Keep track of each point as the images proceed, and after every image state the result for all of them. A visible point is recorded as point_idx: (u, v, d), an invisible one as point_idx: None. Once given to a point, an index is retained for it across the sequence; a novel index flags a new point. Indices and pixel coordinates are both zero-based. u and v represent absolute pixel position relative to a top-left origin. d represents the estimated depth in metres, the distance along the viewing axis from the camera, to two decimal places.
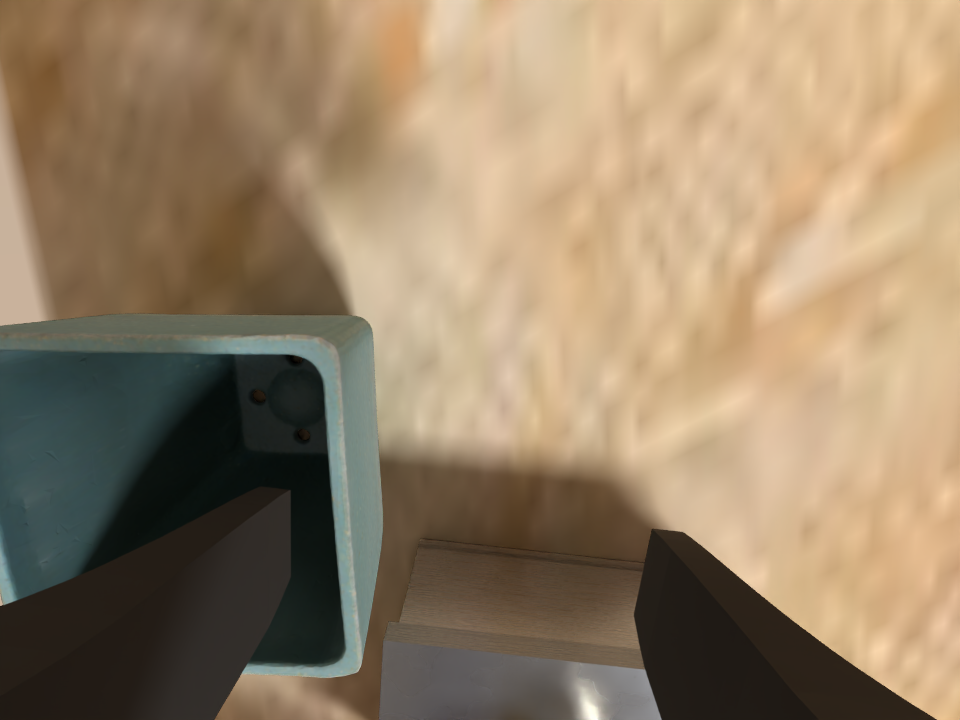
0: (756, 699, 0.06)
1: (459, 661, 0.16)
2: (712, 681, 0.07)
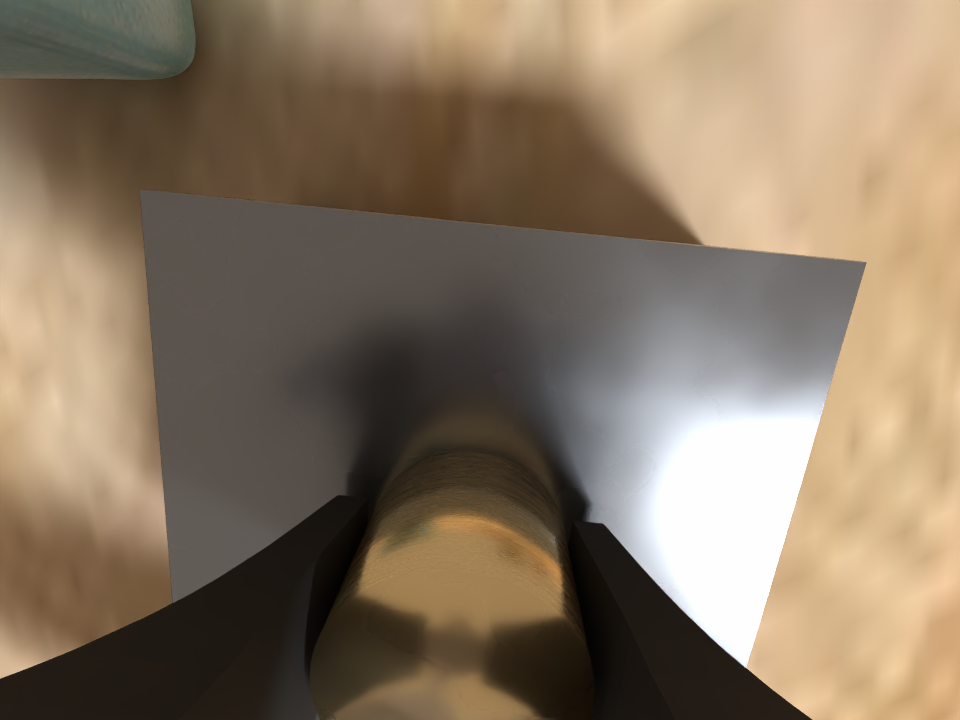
0: (630, 685, 0.06)
1: (279, 232, 0.09)
2: (604, 668, 0.07)
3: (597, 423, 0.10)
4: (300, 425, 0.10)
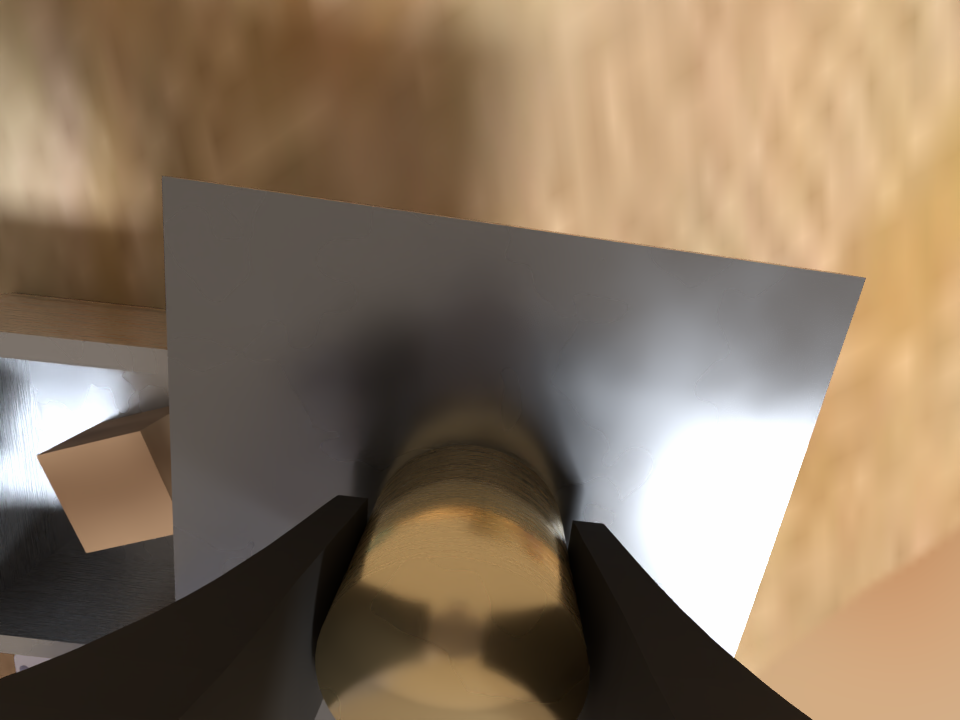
0: (630, 685, 0.06)
1: (297, 223, 0.09)
2: (604, 668, 0.07)
3: (599, 423, 0.10)
4: (309, 413, 0.10)
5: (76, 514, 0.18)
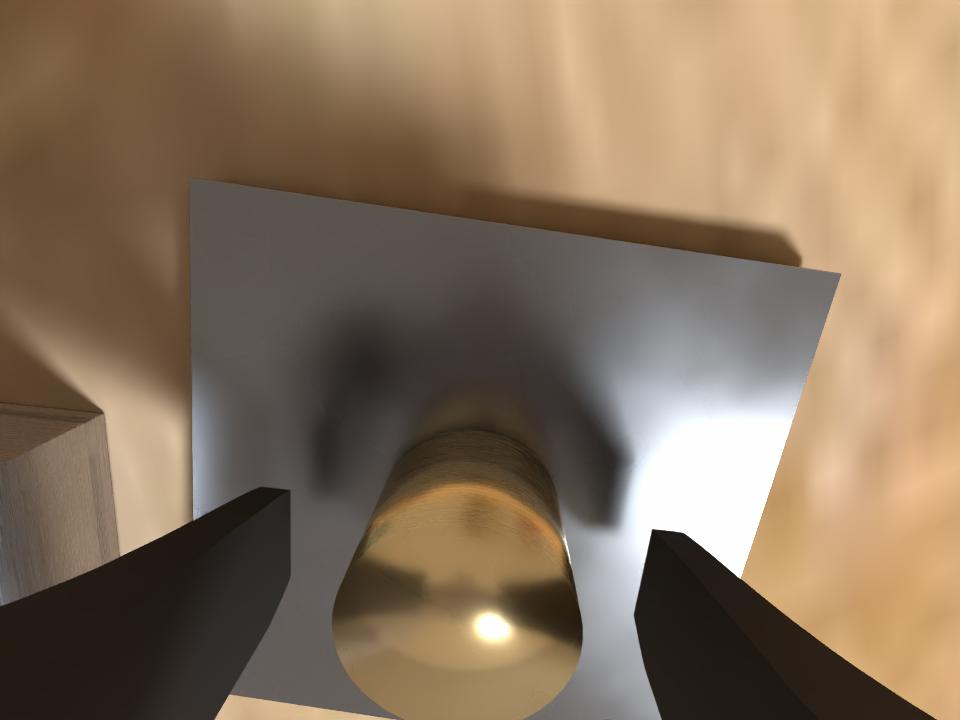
0: (756, 699, 0.06)
1: (314, 222, 0.10)
2: (712, 680, 0.07)
3: (594, 409, 0.11)
4: (323, 399, 0.11)
5: None
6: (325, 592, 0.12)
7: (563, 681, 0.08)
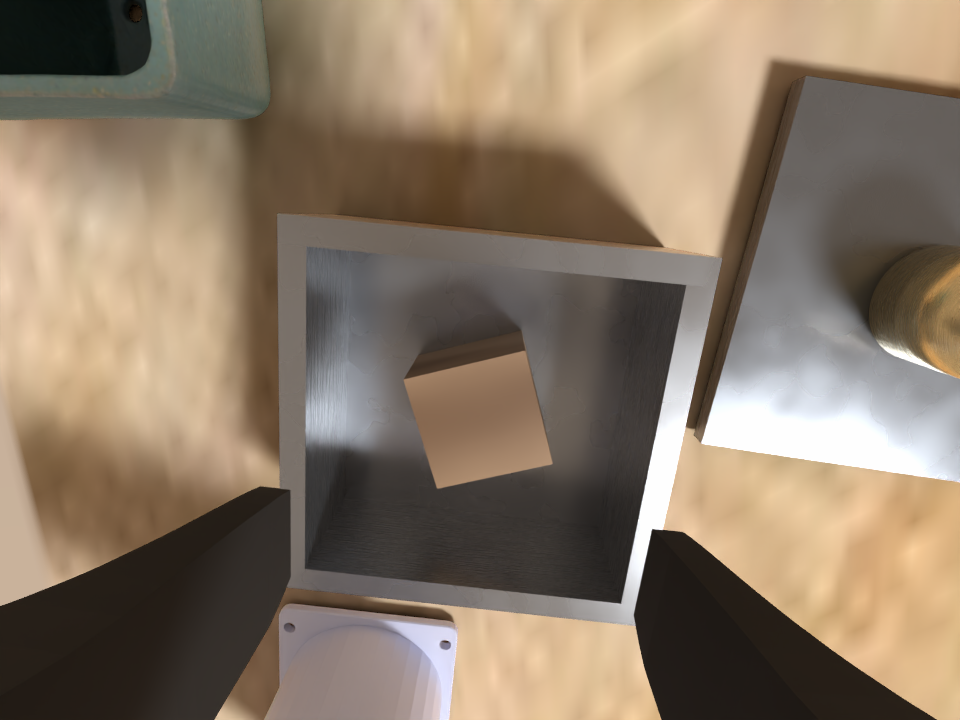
0: (756, 699, 0.06)
1: (878, 104, 0.16)
2: (711, 681, 0.07)
3: None
4: (851, 224, 0.17)
5: (435, 445, 0.17)
6: (815, 365, 0.18)
7: None
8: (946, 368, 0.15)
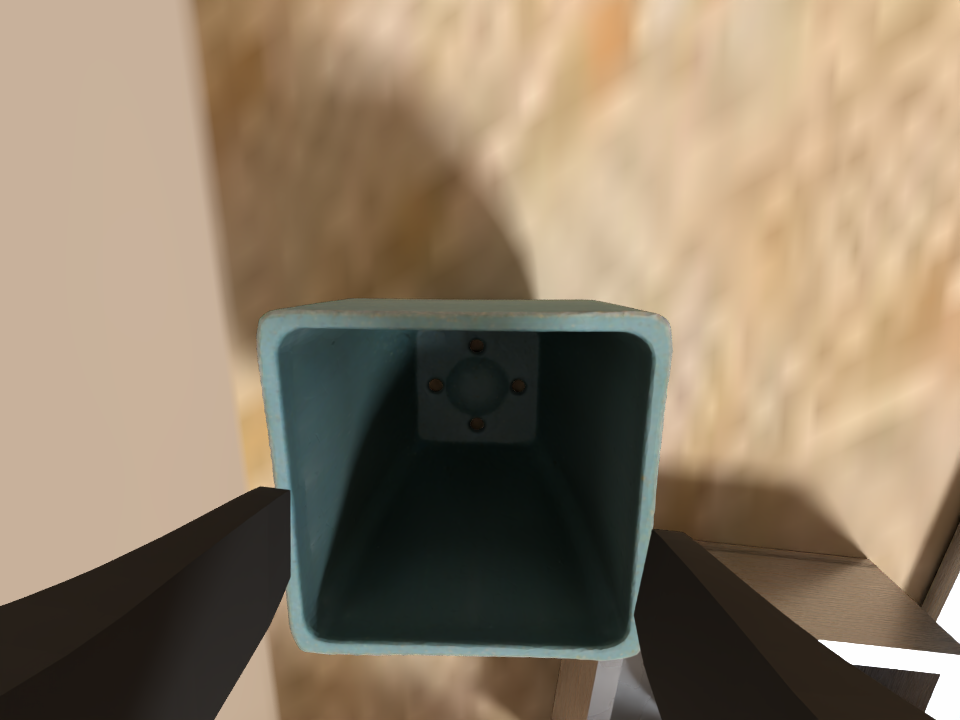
0: (756, 699, 0.06)
1: None
2: (712, 681, 0.07)
3: None
4: None
5: None
6: None
7: None
8: None
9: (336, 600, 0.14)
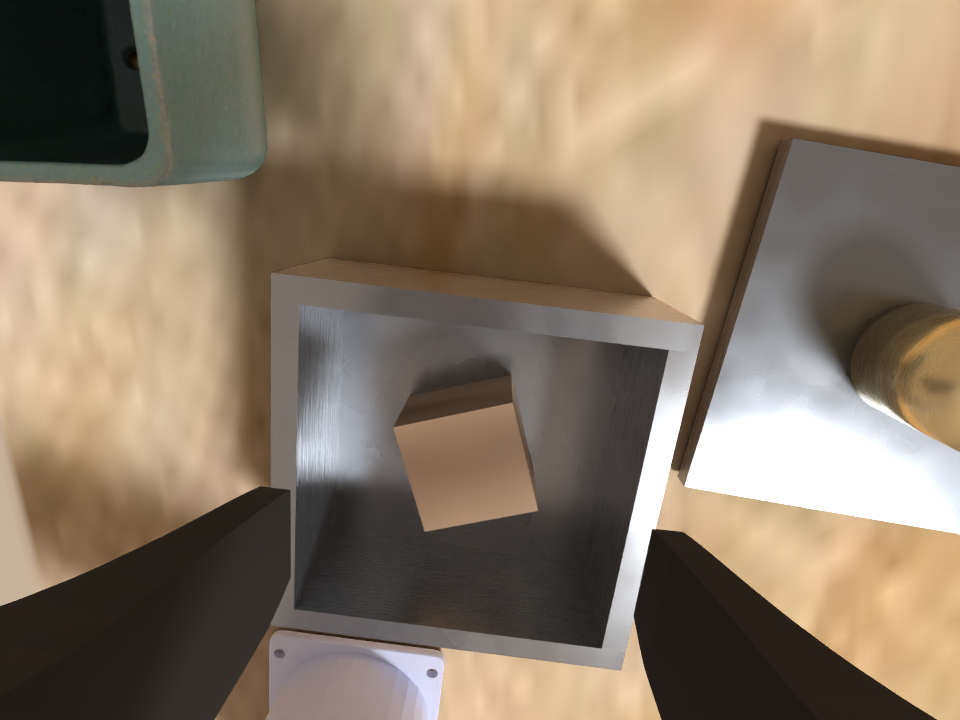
0: (756, 699, 0.06)
1: (863, 167, 0.16)
2: (712, 681, 0.07)
3: None
4: (835, 281, 0.17)
5: (423, 490, 0.17)
6: (797, 415, 0.19)
7: None
8: (921, 429, 0.16)
9: None
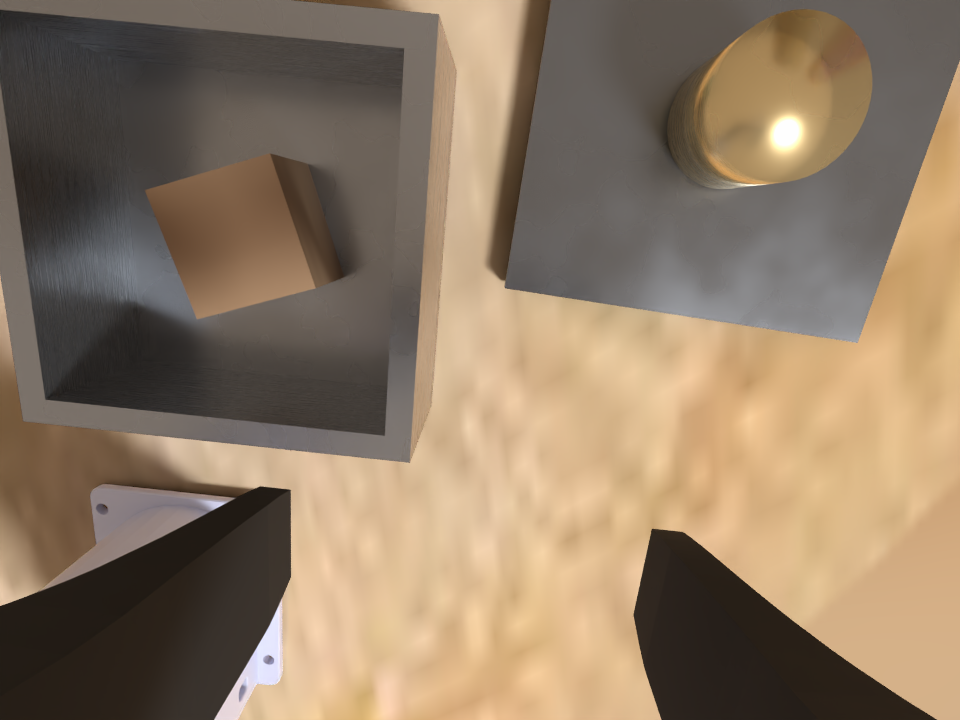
0: (756, 699, 0.06)
1: None
2: (712, 681, 0.07)
3: None
4: (639, 30, 0.16)
5: (188, 267, 0.16)
6: (616, 196, 0.17)
7: (850, 140, 0.13)
8: (717, 164, 0.14)
9: None
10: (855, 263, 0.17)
